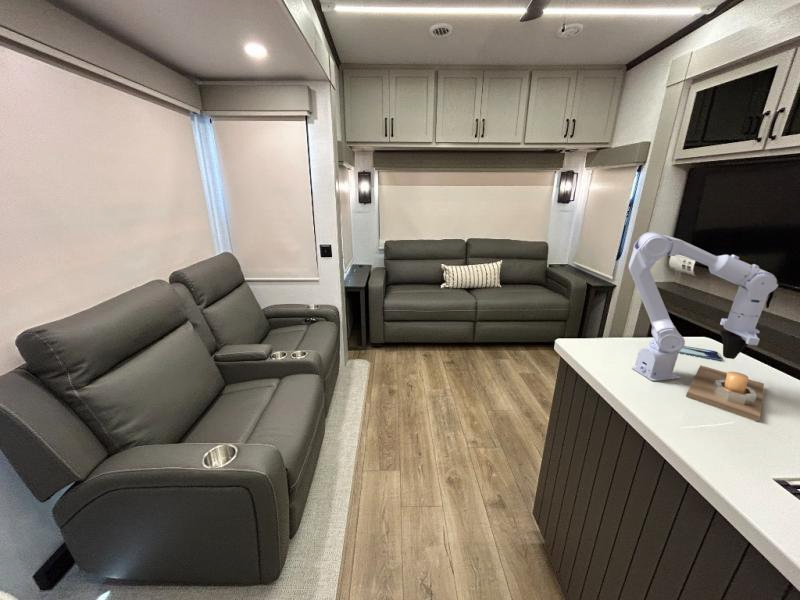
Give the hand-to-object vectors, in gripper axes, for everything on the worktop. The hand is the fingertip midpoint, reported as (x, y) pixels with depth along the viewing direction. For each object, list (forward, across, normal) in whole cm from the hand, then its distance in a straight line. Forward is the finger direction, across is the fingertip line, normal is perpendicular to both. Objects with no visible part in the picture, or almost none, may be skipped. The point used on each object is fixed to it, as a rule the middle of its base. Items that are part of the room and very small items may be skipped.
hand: (728, 357), depth 94 cm
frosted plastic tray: (+8, -8, +1) cm, 11 cm away
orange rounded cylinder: (+8, -8, 0) cm, 11 cm away
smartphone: (+10, +23, -2) cm, 25 cm away
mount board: (+9, -4, 0) cm, 10 cm away
